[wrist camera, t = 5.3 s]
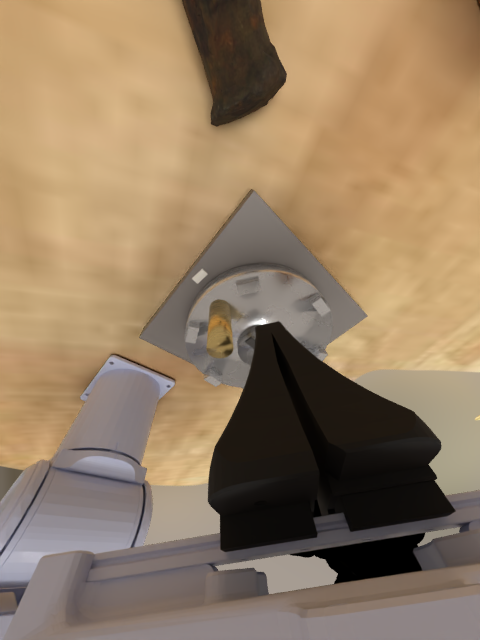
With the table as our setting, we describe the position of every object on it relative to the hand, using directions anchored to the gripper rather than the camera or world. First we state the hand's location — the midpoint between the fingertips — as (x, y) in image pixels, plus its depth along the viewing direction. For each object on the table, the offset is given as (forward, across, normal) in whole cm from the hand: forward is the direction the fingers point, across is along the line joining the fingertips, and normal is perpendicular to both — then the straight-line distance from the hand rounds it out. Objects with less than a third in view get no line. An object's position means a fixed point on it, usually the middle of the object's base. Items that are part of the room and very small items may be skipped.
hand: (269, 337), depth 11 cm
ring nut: (+7, 0, +5) cm, 8 cm away
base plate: (+9, 0, +5) cm, 10 cm away
